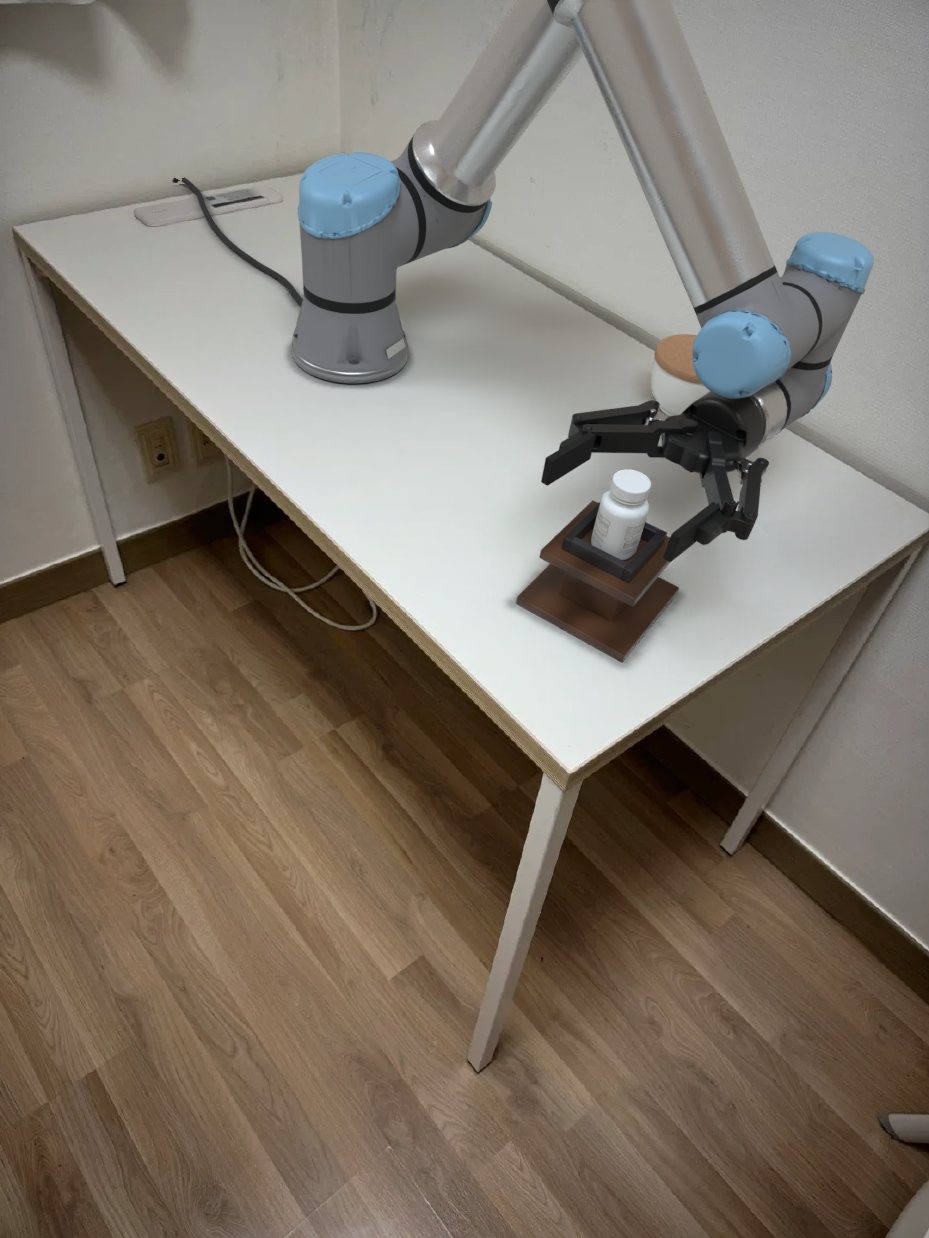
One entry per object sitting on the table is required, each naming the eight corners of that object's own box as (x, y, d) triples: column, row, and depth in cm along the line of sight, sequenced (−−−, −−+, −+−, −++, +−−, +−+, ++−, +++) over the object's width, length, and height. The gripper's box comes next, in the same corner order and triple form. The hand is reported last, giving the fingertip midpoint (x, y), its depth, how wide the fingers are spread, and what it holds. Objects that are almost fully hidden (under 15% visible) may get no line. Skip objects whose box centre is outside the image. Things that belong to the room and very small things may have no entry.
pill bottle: (640, 539, 80) (660, 473, 75) (631, 567, 77) (651, 501, 72) (595, 526, 81) (613, 460, 76) (585, 554, 78) (602, 487, 73)
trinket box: (633, 385, 114) (650, 320, 107) (709, 388, 115) (730, 323, 108) (651, 430, 106) (671, 363, 100) (732, 433, 108) (757, 366, 101)
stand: (515, 603, 83) (527, 538, 77) (576, 543, 90) (592, 478, 84) (622, 662, 79) (644, 598, 72) (677, 594, 86) (701, 530, 80)
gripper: (828, 511, 82) (714, 616, 70) (623, 401, 93) (495, 476, 81) (861, 447, 76) (744, 549, 65) (639, 338, 87) (505, 408, 76)
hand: (605, 508), depth 73 cm, fingers open, 13 cm apart
